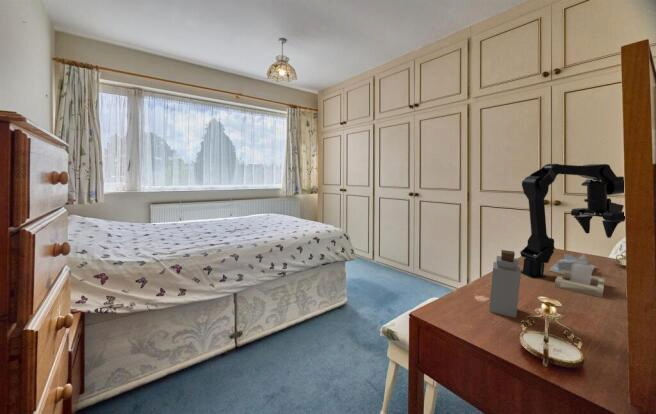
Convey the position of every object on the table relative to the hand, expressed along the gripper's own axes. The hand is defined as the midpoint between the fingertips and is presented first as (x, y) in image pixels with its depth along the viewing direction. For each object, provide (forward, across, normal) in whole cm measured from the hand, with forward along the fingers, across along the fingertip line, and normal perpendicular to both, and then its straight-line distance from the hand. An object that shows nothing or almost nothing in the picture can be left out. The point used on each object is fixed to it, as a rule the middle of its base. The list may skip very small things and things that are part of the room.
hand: (597, 235), depth 114 cm
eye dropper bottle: (+15, -10, +16) cm, 25 cm away
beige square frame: (+15, -10, +16) cm, 25 cm away
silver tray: (+16, +7, +4) cm, 18 cm away
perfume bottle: (+12, -30, +56) cm, 64 cm away
